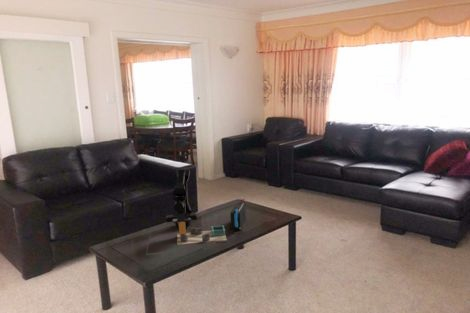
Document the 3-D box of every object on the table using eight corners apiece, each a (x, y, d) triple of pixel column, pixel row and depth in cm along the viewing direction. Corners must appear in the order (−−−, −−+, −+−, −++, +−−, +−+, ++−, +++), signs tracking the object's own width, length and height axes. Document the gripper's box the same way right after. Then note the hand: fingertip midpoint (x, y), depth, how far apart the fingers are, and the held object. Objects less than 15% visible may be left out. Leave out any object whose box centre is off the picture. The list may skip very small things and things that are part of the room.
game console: (239, 232, 237) (238, 211, 235) (229, 232, 239) (228, 210, 236) (247, 217, 264) (246, 198, 262) (238, 217, 266) (238, 197, 263)
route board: (177, 235, 237) (176, 227, 236) (223, 230, 241) (223, 223, 240) (177, 246, 220) (176, 238, 220) (226, 241, 225) (226, 233, 224)
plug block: (179, 232, 233) (178, 219, 232) (185, 231, 234) (184, 218, 232) (179, 235, 230) (178, 221, 228) (185, 234, 230) (185, 220, 228)
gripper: (165, 212, 219) (167, 236, 222) (196, 209, 222) (197, 233, 225) (165, 206, 230) (167, 230, 233) (195, 204, 233) (197, 227, 236)
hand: (182, 230), depth 231 cm, fingers closed on plug block, 4 cm apart
